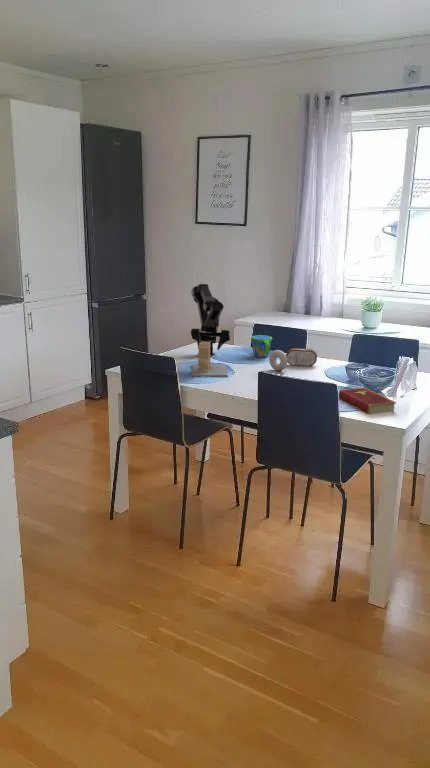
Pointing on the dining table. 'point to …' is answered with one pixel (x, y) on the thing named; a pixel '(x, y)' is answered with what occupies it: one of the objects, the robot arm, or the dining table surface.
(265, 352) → the snack cup
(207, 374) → the slate mat
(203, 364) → the wooden block
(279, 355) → the donut
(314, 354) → the tin
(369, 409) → the hardcover book
